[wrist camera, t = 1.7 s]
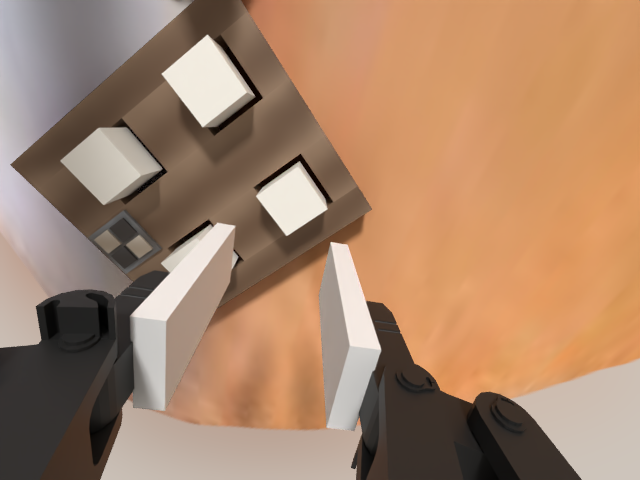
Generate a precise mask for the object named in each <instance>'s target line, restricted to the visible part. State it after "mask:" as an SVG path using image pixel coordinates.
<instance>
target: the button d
mask: <svg viewBox="0 0 640 480" xmlns="http://www.w3.org/2000/svg"><path fill="white" fill-rule="evenodd" d="M256 197H257V198H258V200H259V201H260V202H261V203H262V205H263V206H264V207H265V209H266V210H267V211H268V213H269V214H270V215H271V216H272V218H273V219H274V220H275V222H276V223H277V224H278V226H279V227H280V228H281V229H282V231H283V232H284V233H285V235H286V236H288V235H289V234H291V233H292V232H294V231H295V230H297V229H298V228H300V227H301V226H303V225H304V224H306V223H307V222H309V221H310V220H312V219H313V218H315V217H316V216H318V215H320V214H321V213H323V212H324V211H326V210H327V204H326V200H325V198H324V196H323V195H322V193H321V192H320V190H319V189H318V187H317V186H316V184H315V183H314V182H313V180H312V179H311V177H310V176H309V174H308V173H307V171H306V170H305V168H304V167H303V165H302V164H301V162H300V161H299V162H298V163H296V164H295V165H293V166H292V167H291V168H289V169H288V170H286V171H285V172H283V173H282V174H281V175H279V176H278V177H276V178H275V179H274V180H272V181H271V182H269V183H268V184H267V185H265V186H264V187H262V189H261V190H260V191H259V193H258V194H257V195H256Z"/></svg>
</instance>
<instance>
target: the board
mask: <svg viewBox="0 0 640 480" xmlns="http://www.w3.org/2000/svg"><path fill="white" fill-rule="evenodd" d="M206 35H208V36H210V37H211V38H212V39H213V40H214V41H215V42H216V43H217V44H219V45H220V46H221V47H222V48H223V50H225V49H226V48H227V47H229V48H230V49H231V51H232V52H233V54H234V55H235V57H236V58H237V60H238V61H239V63H240V64H241V66H242V67H243V69H244V70H245V71H246V73H247V74H248V76H249V77H250V79H251V80H252V82H253V83H254V85H255V86H256V88H257V89H258V91H259V92H260V94H261V95H262V97H263V99H261V100H260V101H259V102H258V103H256V104H255V105H254V106H252V107H251V108H250V109H248V110H247V111H246V112H245V113H243V114H242V115H241V116H239V117H238V118H237V119H236V120H234V121H233V122H232V123H230V124H229V125H228V126H226V127H225V128H224V129H223V130H221V131H220V129H219V128H218V127H202V126H201V124H200V123H199V122H198V120H197V119H196V118H195V117H194V115H193V114H192V113H191V111H190V110H189V109H188V107H187V106H186V105H185V104H184V102H183V101H182V100H181V98H180V97H179V96H178V95H177V93H176V92H175V91H174V89H173V88H172V87H171V85H170V84H169V83H168V82H167V80H166V79H165V78H164V76H163V75H162V73H163V72H164V71H166V70H167V69H168V68H169V67H170V66H171V65H173V64H174V63H175V62H176V61H177V60H178V59H180V58H181V57H182V56H183V55H184V54H185V53H187V52H188V51H189V50H190V49H191V48H192V47H194V46H195V45H196V44H197V43H198V42H199V41H201V40H202V39H203V38H204V37H205V36H206ZM123 127H127V128H128V129H130V128H131V129H132V131H133V132H134V133H135V134H136V135H137V136H138V138H139V139H140V140H141V141H142V142H143V143H144V145H145V146H146V147H147V148H148V149H149V150H150V152H151V153H152V154H153V155H154V156H155V157H156V159H157V160H158V161H159V162H160V163H161V164H162V166H163V167H164V168H165V169H166V170H167V171H168V172H167V173H166V174H164V175H163V176H162V177H161V178H159V179H158V180H157V181H155V182H154V183H153V184H151V185H150V186H149V187H148V188H146V189H145V190H144V191H142V192H141V193H139V192H138V191H137V190H135V191H134V192H133V193H132V194H130V195H129V196H126V197H123V198H121V199H118V200H116V201H113V202H111V203H108V204H106V205H103V204H102V203H101V202H100V201H99V200H98V199H97V198H96V197H95V196H94V195H93V194H92V193H91V192H90V191H89V190H88V189H87V188H86V187H85V186H84V185H83V184H82V183H81V182H80V181H79V180H78V179H77V178H76V177H75V176H74V175H73V174H72V173H71V172H70V171H69V170H68V168H67V167H66V166H65V165H64V164H63V163H62V162H61V161H60V160H62V159H63V158H64V157H65V156H66V155H67V154H69V153H70V152H71V151H72V150H73V149H74V148H76V147H77V146H78V145H79V144H80V143H81V142H83V141H84V140H85V139H86V138H87V137H88V136H90V135H91V134H92V133H93V132H94V131H95V130H97V129H98V128H123ZM299 154H301V155H302V156H303V158H304V159H305V160H306V162H307V163H308V165H309V166H310V168H311V169H312V171H313V172H314V174H315V175H316V177H317V178H318V180H319V181H320V183H321V184H322V186H323V187H324V189H325V190H326V192H327V193H328V195H329V197H327V198H326V199H325V200H326V204H327V210H326V211H324V212H323V213H321V214H320V215H318V216H316V217H315V218H313V219H312V220H310V221H309V222H307V223H306V224H304V225H303V226H301V227H300V228H298V229H297V230H295V231H294V232H292V233H291V234H289V235H288V236H286V235H285V233H284V232H283V231H282V229H281V228H280V227H279V226H278V224H277V223H276V222H275V220H274V219H273V218H272V216H271V215H270V214H269V213H268V211H267V210H266V209H265V207H264V206H263V205H262V203H261V202H260V201H259V200H258V198H257V197H256V195H257V194H258V193H259V191H260V190H261V189H262V187H263V186H262V185H261V184H260V182H261V181H263V180H264V179H266V178H267V177H268V176H270V175H271V174H273V173H274V172H275V171H277V170H278V169H280V168H281V167H282V166H284V165H285V164H287V163H288V162H289V161H291V160H292V159H294V158H295V157H296V156H298V155H299ZM10 165H11V166H12V167H13V168H14V169H15V170H16V171H17V172H18V173H20V174H21V175H22V176H23V177H24V178H25V179H26V180H27V181H28V182H29V183H30V184H31V185H32V186H33V187H34V188H35V189H36V190H37V191H38V192H39V193H41V194H42V195H43V196H44V197H45V198H46V199H47V200H48V201H49V202H50V203H51V204H52V205H53V206H54V207H55V208H56V209H57V210H58V211H59V212H60V213H62V214H63V215H64V216H65V217H66V218H67V219H68V220H69V221H70V222H71V223H72V224H73V225H74V226H75V227H76V228H77V229H78V230H79V231H80V232H81V233H83V234H84V235H85V236H86V237H87V238H88V239H89V240H90V241H91V242H92V243H93V244H94V245H95V246H96V247H97V248H98V249H99V250H100V251H101V252H102V253H104V254H105V255H106V256H107V257H108V258H109V259H110V260H111V261H112V262H113V263H114V264H115V265H116V266H117V267H118V268H119V269H120V270H121V271H122V272H123V273H125V274H126V275H127V276H128V277H129V278H130V279H131V280H132V281H133V282H134V281H135V280H136V279H137V278H139V277H140V276H142V275H145V274H147V273H149V272H151V271H154V270H156V271H163V272H169V271H168V270H167V269H166V268H165V267H164V266H163V265H162V264H161V263H162V262H163V261H164V260H165V259H166V258H167V257H168V256H169V255H170V254H171V253H172V252H173V251H174V250H175V249H177V248H178V247H179V246H180V245H182V244H183V243H185V242H184V241H183V240H182V239H181V238H183V237H184V236H186V235H187V234H188V233H190V232H191V231H193V230H194V229H195V228H197V227H198V226H200V225H201V224H202V223H204V222H205V221H207V220H208V219H209V220H210V221H211V223H212V224H213V225H214V226H215V225H216V224H217V223H222V224H228V225H234V226H236V227H235V237H234V247H233V248H234V249H235V251H236V252H237V253H238V254H239V255H240V256H239V257H238V259H237V261H236V263H235V265H234V266H233V268H232V270H231V277H230V283H229V285H228V287H227V289H226V291H225V293H224V295H223V297H222V299H221V301H220V303H219V305H218V307H217V308H219V307H220V306H222V305H223V304H225V303H226V302H228V301H230V300H231V299H233V298H234V297H236V296H237V295H239V294H241V293H242V292H244V291H245V290H247V289H248V288H250V287H251V286H253V285H255V284H256V283H258V282H259V281H261V280H262V279H264V278H266V277H267V276H269V275H270V274H272V273H273V272H275V271H277V270H278V269H280V268H281V267H283V266H284V265H286V264H287V263H289V262H291V261H292V260H294V259H295V258H297V257H298V256H300V255H302V254H303V253H305V252H306V251H308V250H309V249H311V248H312V247H314V246H316V245H317V244H319V243H320V242H322V241H323V240H325V239H327V238H328V237H330V236H331V235H333V234H334V233H336V232H338V231H339V230H341V229H342V228H344V227H345V226H347V225H348V224H350V223H352V222H353V221H355V220H356V219H358V218H359V217H361V216H363V215H364V214H366V213H367V212H369V211H370V210H372V208H371V206H370V205H369V203H368V202H367V200H366V198H365V197H364V195H363V194H362V192H361V191H360V189H359V187H358V186H357V184H356V183H355V181H354V179H353V178H352V176H351V175H350V173H349V171H348V170H347V168H346V167H345V165H344V164H343V162H342V160H341V159H340V157H339V156H338V154H337V152H336V151H335V149H334V148H333V146H332V144H331V143H330V141H329V140H328V138H327V136H326V135H325V133H324V132H323V130H322V129H321V127H320V125H319V124H318V122H317V121H316V119H315V117H314V116H313V114H312V113H311V111H310V109H309V108H308V106H307V105H306V103H305V102H304V100H303V98H302V97H301V95H300V94H299V92H298V90H297V89H296V87H295V86H294V84H293V82H292V81H291V79H290V78H289V76H288V74H287V73H286V71H285V70H284V68H283V67H282V65H281V63H280V62H279V60H278V59H277V57H276V55H275V54H274V52H273V51H272V49H271V47H270V46H269V44H268V43H267V41H266V39H265V38H264V36H263V35H262V33H261V32H260V30H259V28H258V27H257V25H256V24H255V22H254V20H253V19H252V17H251V16H250V14H249V12H248V11H247V9H246V8H245V6H244V5H243V3H242V1H241V0H195V1H193V2H192V3H191V4H190V5H189V6H188V7H187V8H186V9H184V10H183V11H182V12H181V13H180V14H179V15H178V16H177V17H176V18H174V19H173V20H172V21H171V22H170V23H169V24H168V25H167V26H165V27H164V28H163V29H162V30H161V31H160V32H159V33H158V34H156V35H155V36H154V37H153V38H152V39H151V40H150V41H149V42H147V43H146V44H145V45H144V46H143V47H142V48H141V49H140V50H138V51H137V52H136V53H135V54H134V55H133V56H132V57H131V58H129V59H128V60H127V61H126V62H125V63H124V64H123V65H122V66H120V67H119V68H118V69H117V70H116V71H115V72H114V73H113V74H112V75H110V76H109V77H108V78H107V79H106V80H105V81H104V82H103V83H101V84H100V85H99V86H98V87H97V88H96V89H95V90H94V91H92V92H91V93H90V94H89V95H88V96H87V97H86V98H85V99H83V100H82V101H81V102H80V103H79V104H78V105H77V106H76V107H74V108H73V109H72V110H71V111H70V112H69V113H68V114H67V115H65V116H64V117H63V118H62V119H61V120H60V121H59V122H58V123H57V124H55V125H54V126H53V127H52V128H51V129H50V130H49V131H48V132H46V133H45V134H44V135H43V136H42V137H41V138H40V139H39V140H37V141H36V142H35V143H34V144H33V145H32V146H31V147H30V148H28V149H27V150H26V151H25V152H24V153H23V154H22V155H21V156H19V157H18V158H17V159H16V160H15V161H14V162H13V163H12V164H10Z"/></svg>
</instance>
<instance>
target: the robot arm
mask: <svg viewBox="0 0 640 480" xmlns="http://www.w3.org/2000/svg"><path fill="white" fill-rule="evenodd" d="M235 227H236V226H234V225H228V224H222V223H217V224H216V225H215V226H214V227H213V228H212V229H211V230H210V231H209V232H208V233H207V234H206V235H205V237H204V238H203V239H202V240H201V241H200V242H199V243H198V244H197V245H196V246H195V247H194V248H193V249H192V250H191V251H190V253H189V254H188V255H187V256H186V257H185V258H184V259H183V260H182V261H181V262H180V263H179V264H178V265H177V266H176V267H175V269H174V270H173V271H172V272H171V273H170V272H163V271H156V270H154V271H151V272H149V273H147V274H145V275H142V276H140V277H139V278H137V279H136V280H135V281H134V282H133V283H132V284H131V285H130V286H129V288H126V289H125V290H124V291H123V292H122V293H121V295H118V296H117V297H116V298H115V299H114V297H113V296H112V295H111V294H108V293H106V292H104V291H98V290H75V291H71V292H66V293H61V294H58V295H56V296H53V297H51V298H48V299H46V300H45V301H43V302H42V303H41V304H39V305H37V306H36V309H37V316H38V321H39V328H40V333H41V339H42V340H41V342H40V343H39V344H37V345H29V346H17V347H6V348H0V480H100V479H101V476H102V473H103V471H104V468H105V465H106V463H107V460H108V457H109V455H110V452H111V450H112V447H113V444H114V442H115V439H116V437H117V434H118V431H119V429H120V426H121V422H122V407H123V405H124V403H125V402H126V401H127V399H128V398H129V396H130V395H131V393H132V392H133V407H134V408H142V409H151V410H161V411H165V410H166V408H167V406H168V404H169V402H170V400H171V398H172V396H173V394H174V392H175V390H176V388H177V386H178V384H179V382H180V380H181V378H182V376H183V374H184V372H185V370H186V368H187V366H188V364H189V362H190V360H191V358H192V356H193V354H194V352H195V350H196V348H197V346H198V344H199V342H200V340H201V338H202V336H203V334H204V332H205V330H206V328H207V326H208V324H209V323H210V321H211V319H212V317H213V315H214V313H215V311H216V309H217V307H218V305H219V303H220V301H221V299H222V297H223V295H224V293H225V291H226V289H227V287H228V285H229V283H230V277H231V267H232V257H233V247H234V237H235ZM319 306H320V323H321V341H322V358H323V375H324V393H325V410H326V427H327V428H332V429H342V430H351V431H354V430H355V427H356V424H357V421H358V418H359V416H360V422H361V428H362V436H361V438H360V441H359V444H358V447H357V450H356V453H355V456H354V458H353V462H352V466H351V468H353V469H355V468H356V465H357V474H356V480H581V478H580V477H579V476H578V474H577V473H576V472H575V471H574V469H573V468H572V467H571V466H570V464H569V463H568V462H567V461H566V459H565V458H564V457H563V456H562V454H561V453H560V452H559V451H558V449H557V448H556V447H555V445H554V444H553V443H552V442H551V440H550V439H549V438H548V436H547V435H546V434H545V433H544V432H543V430H542V429H541V428H540V427H539V425H538V424H537V423H536V421H535V420H534V419H533V418H532V417H531V416H530V415H529V414H528V413H527V412H526V411H525V410H524V409H523V408H522V407H521V406H519V405H518V404H516V403H515V402H514V401H512V400H510V399H508V398H506V397H504V396H502V395H500V394H496V393H492V392H483V393H480V394H479V395H478V396H477V397H476V399H475V401H474V403H473V404H472V403H469V402H467V401H464V400H461V399H459V398H456V397H454V396H451V395H448V394H446V393H444V392H442V391H440V388H439V386H438V384H437V382H436V380H435V379H434V378H433V377H432V376H431V375H430V373H429V372H427V371H426V370H425V369H423V368H422V367H420V366H419V365H416V364H414V362H413V359H412V357H411V355H410V352H409V350H408V348H407V346H406V343H405V341H404V339H403V337H402V334H400V330H399V328H398V325H396V321H395V318H394V316H393V314H392V312H391V311H390V310H389V309H388V308H387V307H386V306H385V305H384V304H383V303H376V302H370V301H365V298H364V295H363V291H362V288H361V285H360V282H359V279H358V276H357V273H356V270H355V267H354V263H353V260H352V257H351V254H350V251H349V248H348V245H346V244H340V243H334V242H331V243H330V247H329V252H328V256H327V261H326V265H325V270H324V274H323V279H322V283H321V288H320V292H319Z"/></svg>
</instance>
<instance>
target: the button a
mask: <svg viewBox="0 0 640 480" xmlns="http://www.w3.org/2000/svg"><path fill="white" fill-rule="evenodd" d="M60 161H61V162H62V163H63V164H64V165H65V166H66V167H67V168H68V170H69V171H70V172H71V173H72V174H73V175H74V176H75V177H76V178H77V179H78V180H79V181H80V182H81V183H82V184H83V185H84V186H85V187H86V188H87V189H88V190H89V191H90V192H91V193H92V194H93V195H94V196H95V197H96V198H97V199H98V200H99V201H100V202H101V203H102V204H103V205H106V204H108V203H111V202H113V201H116V200H118V199H121V198H123V197H126V196H129V195H130V194H132V193H133V192H134V191H135V190H137V189H138V188H139V187H141V186H142V185H143V184H144V183H146V182H147V181H148V180H150V179H151V178H152V177H153V176H155V175H156V174H157V173H159V172H160V171H161V170H162V169H163V168H162V167H161V166H160V165H159V164H158V163H157V162H156V160H155V159H154V158H153V157H152V156H151V155H150V153H149V152H148V151H147V150H146V149H145V148H144V146H143V145H142V144H141V143H140V142H139V141H138V139H137V138H136V137H135V136H134V135H133V134H132V133H131V131H130V130H129V129H128V128H127V127H123V128H98V129H97V130H95V131H94V132H93V133H92V134H91V135H90V136H88V137H87V138H86V139H85V140H84V141H83V142H81V143H80V144H79V145H78V146H77V147H76V148H74V149H73V150H72V151H71V152H70V153H69V154H67V155H66V156H65V157H64V158H63V159H62V160H60Z"/></svg>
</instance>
